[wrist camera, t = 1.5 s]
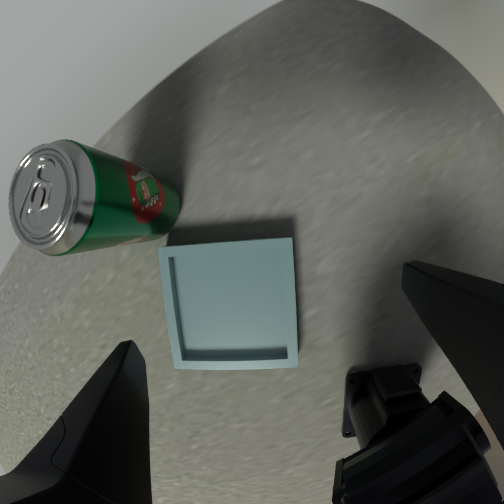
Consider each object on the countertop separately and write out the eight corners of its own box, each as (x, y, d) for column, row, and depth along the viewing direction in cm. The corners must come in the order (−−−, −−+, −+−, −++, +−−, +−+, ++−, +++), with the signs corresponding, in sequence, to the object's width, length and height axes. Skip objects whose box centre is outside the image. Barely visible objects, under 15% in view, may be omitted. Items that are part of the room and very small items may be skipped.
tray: (297, 357, 22) (298, 367, 20) (181, 359, 22) (174, 368, 21) (290, 236, 21) (292, 237, 19) (165, 245, 22) (157, 247, 20)
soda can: (113, 226, 22) (-5, 234, 10) (134, 164, 21) (23, 125, 9) (168, 250, 22) (63, 279, 10) (192, 184, 21) (101, 148, 9)
